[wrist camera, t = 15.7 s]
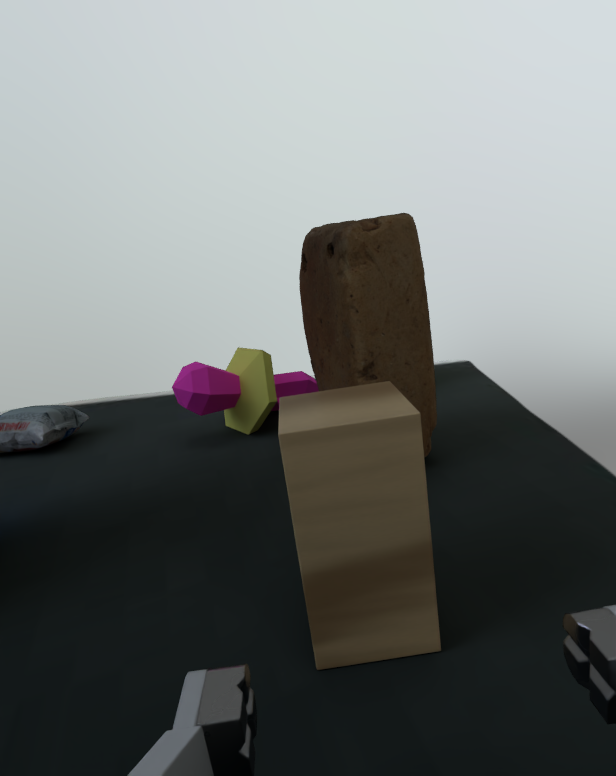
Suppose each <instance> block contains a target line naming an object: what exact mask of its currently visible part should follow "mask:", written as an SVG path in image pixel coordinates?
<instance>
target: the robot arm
mask: <svg viewBox="0 0 616 776" xmlns="http://www.w3.org/2000/svg"><path fill="white" fill-rule="evenodd" d="M563 628H564V629H565V630H566V632H567V633H568V636H567V637H566V639H565V640H564V642H563V647H564V656H565V659H566V662H567V665H568V667H569V669H570V671H571V673H572V675H573V677H574V678H575V679H576V681H577V682H578V684H580V685H582V686H583V687H585V688H587V689H589V690H590V701H591V702H592V703H593V705H594V706H595V707H596V709H597V710H598V712H599V713H600V714H601V716H602V717H603V718H604V720H605V721H606V723H607V724H614V723H616V605H611V606H606V607H603V608H595V609H589V610H583V611H577V612H571V613H565V615H564V617H563ZM250 678H251V676H250V671H249V667H248V665H247V664H241V665H233V666H225V667H218V668H210V669H207V670H198V671H190V672H188V674H187V675H186V677H185V681H184V685H183V689H182V693H181V697H180V701H179V705H178V709H177V713H176V717H175V722H174V726H173V730H170V731H166V732H165V733H164V734H163V736H162V737H161V738H160V739H159V740H158V741H157V742H156V744H155V745H154V746H153V747H152V748H151V749H150V750H149V752H148V753H147V754H146V755H145V756H144V757H143V758H142V760H141V761H140V762H139V763H138V764H137V765H136V766H135V768H134V769H133V770H132V771H131V772H130V773H129V774H128V776H254V768H255V748H254V743H253V739H254V738H255V736H256V734H257V709H256V701H255V695H254V691H253V690H252V689H251V688H250Z"/></svg>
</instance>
